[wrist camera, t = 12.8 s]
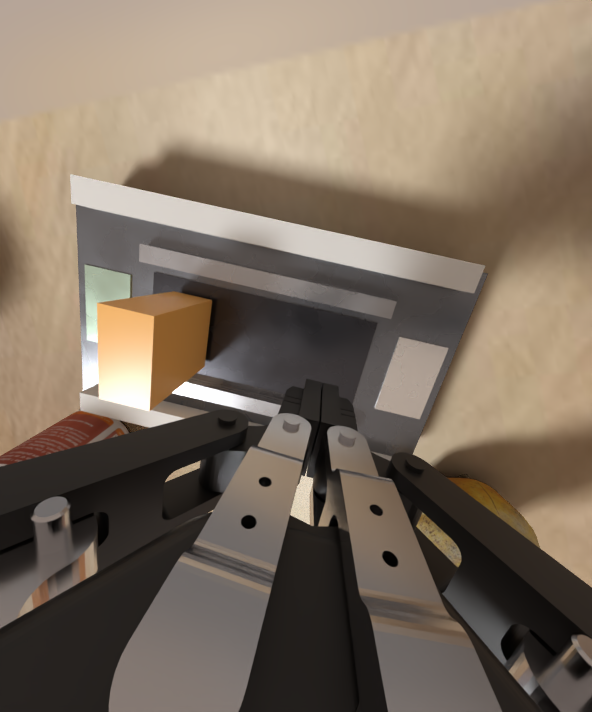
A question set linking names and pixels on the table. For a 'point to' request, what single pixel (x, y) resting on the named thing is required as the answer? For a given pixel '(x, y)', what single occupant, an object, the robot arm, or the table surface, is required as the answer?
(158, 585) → the robot arm
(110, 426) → the pill bottle
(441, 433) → the table surface
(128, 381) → the lever
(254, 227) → the pair of white bars
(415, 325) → the panel
